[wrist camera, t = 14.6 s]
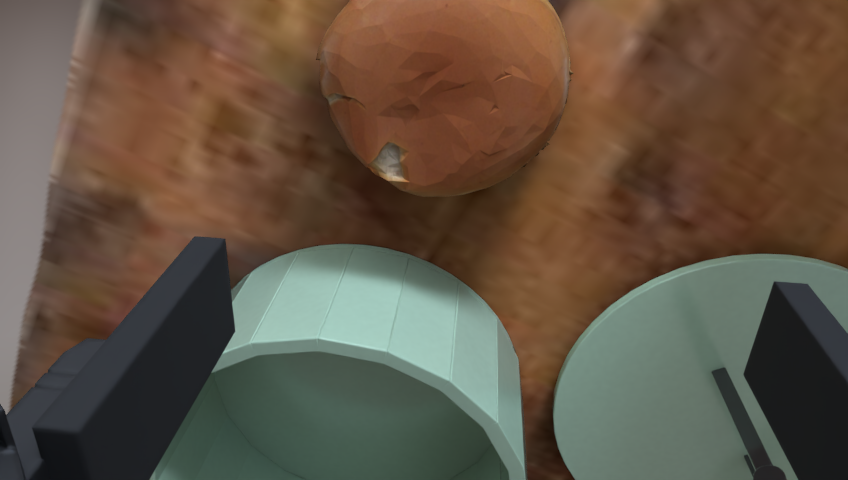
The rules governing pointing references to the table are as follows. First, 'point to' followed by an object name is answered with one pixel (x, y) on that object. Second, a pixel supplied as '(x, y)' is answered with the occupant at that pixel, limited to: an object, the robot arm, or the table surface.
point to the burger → (445, 88)
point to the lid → (681, 375)
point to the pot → (356, 378)
